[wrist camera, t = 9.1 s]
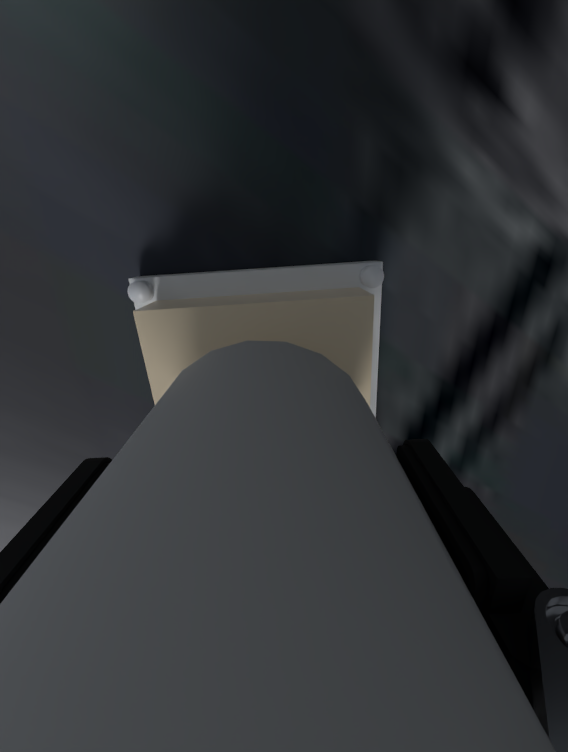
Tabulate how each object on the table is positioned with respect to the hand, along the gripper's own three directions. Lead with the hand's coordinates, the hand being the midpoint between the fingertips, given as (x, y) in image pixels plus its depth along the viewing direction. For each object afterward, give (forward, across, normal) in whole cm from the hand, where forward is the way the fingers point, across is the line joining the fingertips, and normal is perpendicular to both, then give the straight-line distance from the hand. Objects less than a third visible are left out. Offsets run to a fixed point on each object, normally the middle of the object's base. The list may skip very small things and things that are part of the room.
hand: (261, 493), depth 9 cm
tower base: (+9, 0, 0) cm, 9 cm away
